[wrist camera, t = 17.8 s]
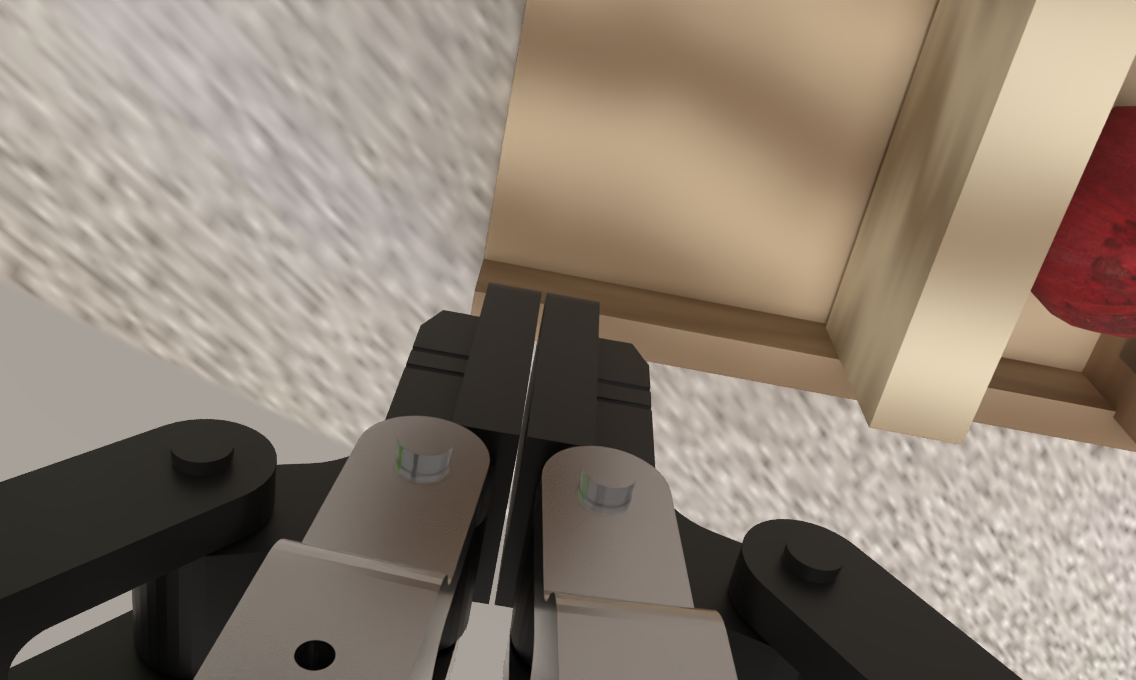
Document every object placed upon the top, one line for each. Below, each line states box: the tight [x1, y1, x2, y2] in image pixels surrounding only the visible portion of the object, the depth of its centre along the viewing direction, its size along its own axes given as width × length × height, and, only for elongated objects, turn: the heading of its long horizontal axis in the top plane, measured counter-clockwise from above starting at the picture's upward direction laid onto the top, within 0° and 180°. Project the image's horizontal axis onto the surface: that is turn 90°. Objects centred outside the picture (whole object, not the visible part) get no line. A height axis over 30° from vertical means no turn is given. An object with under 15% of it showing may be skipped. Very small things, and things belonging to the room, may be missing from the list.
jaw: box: [826, 0, 1136, 445], centre depth 26 cm, size 12×2×6 cm, turn 169°
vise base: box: [471, 0, 1136, 452], centre depth 27 cm, size 14×22×7 cm, turn 79°
